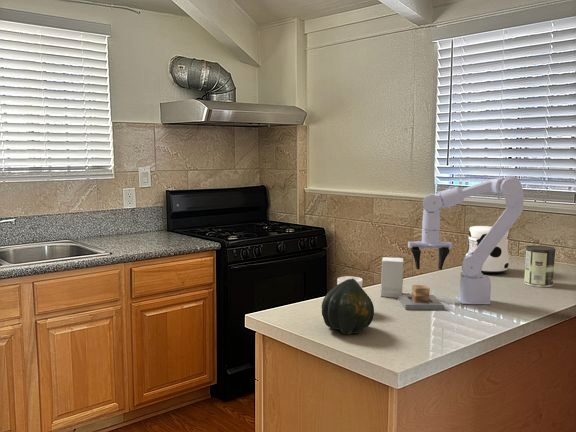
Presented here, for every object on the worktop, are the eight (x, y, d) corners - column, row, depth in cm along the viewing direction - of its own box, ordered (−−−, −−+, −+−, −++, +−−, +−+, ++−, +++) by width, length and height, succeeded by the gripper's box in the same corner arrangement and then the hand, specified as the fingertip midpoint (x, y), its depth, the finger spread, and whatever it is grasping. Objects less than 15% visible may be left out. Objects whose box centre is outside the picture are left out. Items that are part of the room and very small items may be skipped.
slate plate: (433, 299, 194) (433, 295, 193) (443, 309, 182) (443, 304, 182) (397, 299, 194) (398, 294, 193) (405, 309, 182) (405, 304, 181)
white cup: (364, 308, 183) (364, 277, 182) (358, 314, 175) (359, 283, 174) (340, 305, 185) (340, 275, 184) (333, 312, 178) (334, 280, 177)
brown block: (425, 299, 190) (425, 285, 189) (429, 303, 185) (429, 288, 184) (411, 299, 189) (412, 285, 189) (415, 303, 185) (415, 288, 184)
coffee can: (546, 281, 222) (548, 245, 220) (558, 287, 212) (560, 250, 210) (519, 280, 222) (521, 244, 220) (529, 287, 212) (532, 249, 210)
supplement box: (402, 298, 195) (403, 261, 194) (380, 296, 197) (381, 260, 195) (402, 292, 202) (403, 257, 201) (381, 291, 204) (382, 256, 202)
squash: (322, 321, 151) (358, 277, 153) (305, 307, 165) (337, 267, 167) (359, 352, 155) (393, 309, 157) (339, 336, 169) (370, 297, 171)
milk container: (512, 270, 241) (515, 227, 239) (503, 278, 226) (506, 233, 224) (470, 265, 250) (472, 224, 248) (459, 272, 236) (461, 229, 233)
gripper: (412, 231, 190) (410, 271, 191) (455, 231, 190) (453, 271, 192) (407, 227, 197) (405, 266, 198) (449, 228, 197) (447, 267, 199)
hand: (428, 268), depth 195 cm, fingers open, 7 cm apart
